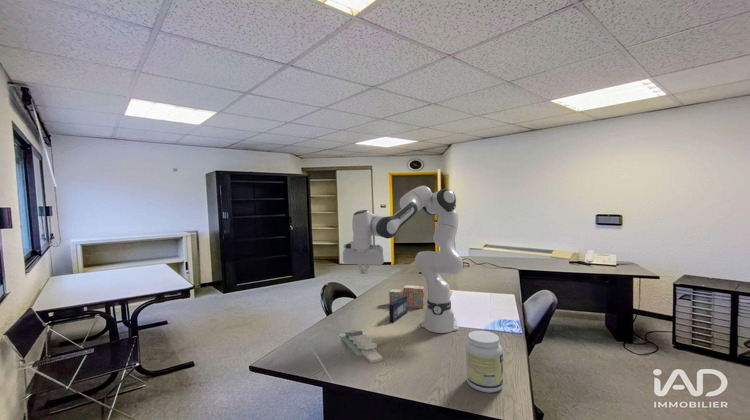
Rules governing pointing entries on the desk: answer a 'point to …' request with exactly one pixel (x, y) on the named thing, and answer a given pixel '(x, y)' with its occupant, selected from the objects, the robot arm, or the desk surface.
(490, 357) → the supplement tub
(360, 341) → the domino
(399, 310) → the vhs cassette tape
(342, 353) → the desk surface
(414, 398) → the desk surface
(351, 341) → the mat
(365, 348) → the domino
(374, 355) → the domino
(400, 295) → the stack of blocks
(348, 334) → the domino
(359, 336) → the domino
